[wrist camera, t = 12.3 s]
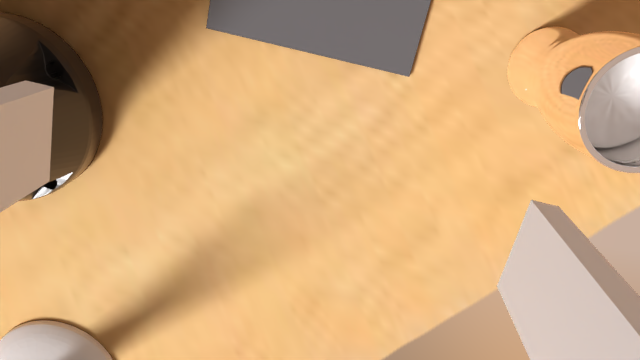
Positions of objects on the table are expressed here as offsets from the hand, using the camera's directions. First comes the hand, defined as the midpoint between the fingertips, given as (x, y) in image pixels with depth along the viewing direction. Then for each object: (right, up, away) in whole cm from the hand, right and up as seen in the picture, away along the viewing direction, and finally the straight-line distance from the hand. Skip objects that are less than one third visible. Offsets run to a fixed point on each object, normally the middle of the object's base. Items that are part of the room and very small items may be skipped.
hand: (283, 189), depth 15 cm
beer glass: (+18, +9, +26) cm, 33 cm away
